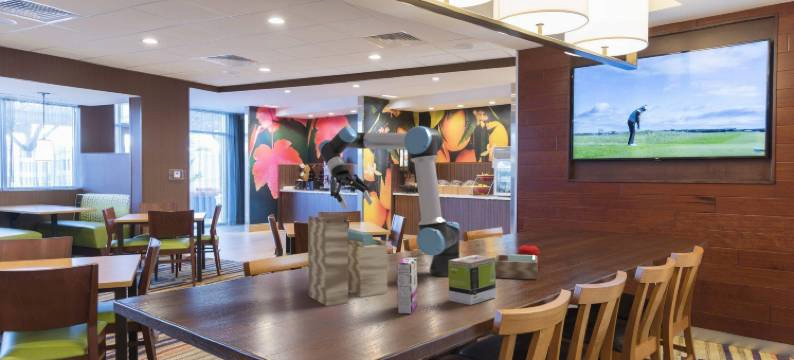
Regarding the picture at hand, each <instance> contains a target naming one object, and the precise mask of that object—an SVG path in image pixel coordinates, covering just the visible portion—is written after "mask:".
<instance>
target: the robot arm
mask: <svg viewBox="0 0 794 360" xmlns="http://www.w3.org/2000/svg"><path fill="white" fill-rule="evenodd" d="M443 144H444V139H443V135H442V134H441V132H440V131H439V130H438V129H436V128H433V127H428V126H424V125H419V126H418V125H417V126H413V127H411V128H410V129H409V130H407V132H356V131H355V129H354V128H352V127H351V126H349V125H345V126H343V127H342V128H341V129H340V130H339V131H338V132H337V133H336V134H335V135H334V137H332V139H331V140H330V139H325V140H323V141H321V142H320V143H319V145H318V146H317V147H318V151H319V154H320V156H321V158H322V159H323V161H324V163H325V165H326V166H327V168H328V171H329V172H330V174H331V177H330V178H329V183H330V195H329V196H330V197H333V198H334V199H337V201H338V203H340V205H341V207H342V209H343V210H346V208H347V207H348V203H347V201H346V200H345V198H344V196H343V194H342V193H340V192H341V189H342V186H343V187H347V186H350V187H353V188H355V189H356V190H358V191H360V192H361V193H362V195H363V198H364V199H365V200H366V202H367V204H368V206H371V205H372V204H373V202H374V201H373V199H372V197H371V196H372V195H371V194H370V190H371V187H370V186H369V185H368V184H367V183H366V182H364V181H363V180H362V179H361V178H360V177H359V176H358V174H356V173H354V175H351V174H350V171H349V169H348V167H347V165H346V163H345V162H344V160H343V158H342V156H341V154H342V153H343V152H344V151H345V150H346V149H347V148H351V149H361V150H362V149H369V150H370V149H375V150H376V149H377V150H380V149H381V150H407V152H408V153H409V158H410V162H412V163H414V169H415V177H416V186H417V193H418V194H417V195H418V200H419V210H420V219H421V220H420V221H419V222H418V233H417V234H416V238H415V239H416V245H417V247H418V248H417V249H419V250H420V251H421V252H422V253H424V255H426V256H433V257H432V260H431V262H430V266H429V275H431V276H436V277H449V270H448V260H452V259H457V258H461V255H460V251H461V250H460V248H461V247H460V242H461V241H460V238H461V237H460V231H461V229H460V224H459V223H458V222H455V221H447V220H446V219H444V218H443V216H442V211H441V210H442V209H441V207H442V206H441V201H440V200H441V199H440V193H439V185H438V176H437V168H436V159H437V158H438V157H439V156H438V155H439V154H438V153H439V151H441V149H442V148H443V146H444V145H443ZM336 183H337V188H336Z"/></svg>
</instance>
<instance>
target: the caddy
mask: <svg viewBox="0 0 794 360" xmlns="http://www.w3.org/2000/svg"><path fill="white" fill-rule="evenodd" d="M508 255H509V254H496V256H495V277H496V279H497V278H498V279H521V280H523V279H524V280H525V279H526V280H538V271H539V270H538V265H539V264H538V262H539V259H537V256H535V262H516V261H508Z"/></svg>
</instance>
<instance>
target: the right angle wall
mask: <svg viewBox="0 0 794 360" xmlns="http://www.w3.org/2000/svg"><path fill="white" fill-rule="evenodd" d="M507 255H508V261H516V262H535V255H519V254H507Z"/></svg>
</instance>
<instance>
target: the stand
mask: <svg viewBox="0 0 794 360" xmlns="http://www.w3.org/2000/svg"><path fill="white" fill-rule="evenodd" d="M348 218H349V217H348V213H334V214H333V213H331V214H330V213H329V214H324V217H321V216H315V215H309V216H308V220H307V229H308V230H307V231H308V233H307V235H308V236H307V240H308V241H307V242H308V243H307V249H308V252H307V253H308V255H307V256H308V260H307V261H308V297H310V298H312V299H313V300H315V301H317V302H319V303H321V304H323V306H325V307H330V306H335V305H336V306H337V305H344V304H348V303H349V292H348V229H349V228H348V226H349V224H348Z"/></svg>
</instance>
